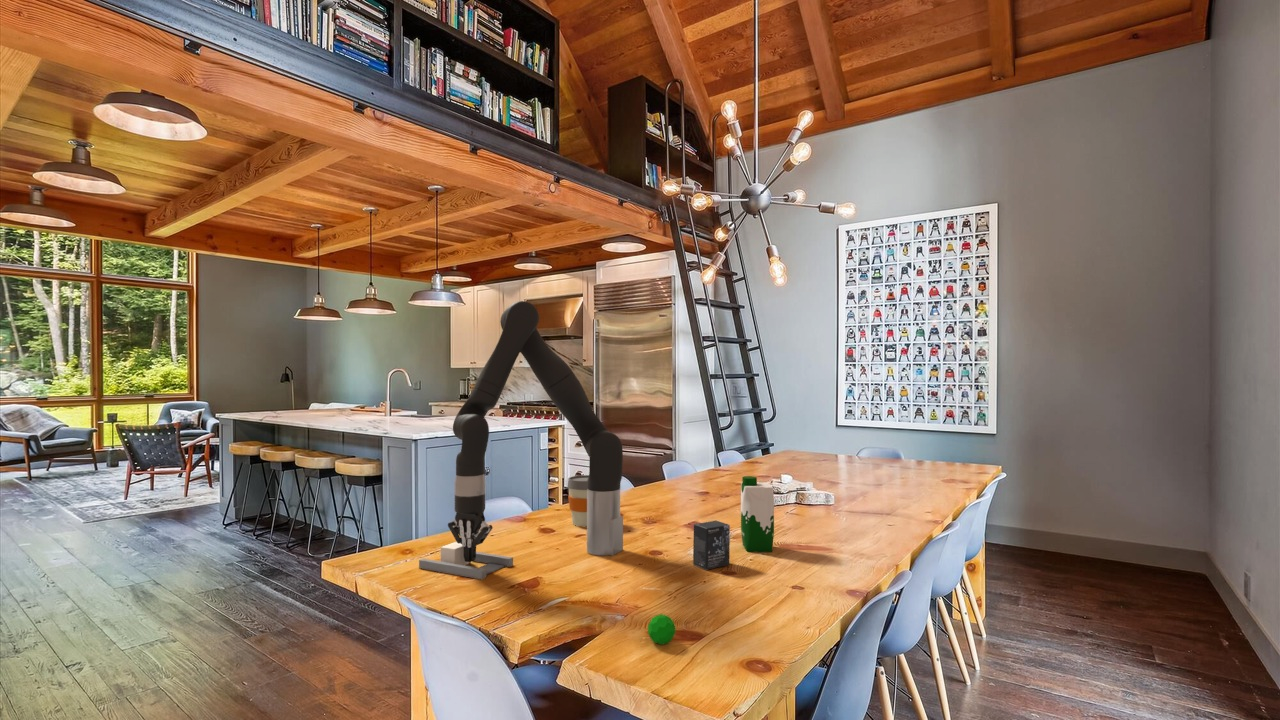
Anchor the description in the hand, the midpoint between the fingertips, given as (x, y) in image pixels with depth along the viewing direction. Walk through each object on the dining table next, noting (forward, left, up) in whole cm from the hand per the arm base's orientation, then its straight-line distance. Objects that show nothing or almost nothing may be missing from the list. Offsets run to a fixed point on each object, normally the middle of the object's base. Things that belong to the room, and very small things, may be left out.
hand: (469, 561), depth 152 cm
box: (-55, -28, -2) cm, 62 cm away
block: (+5, 0, -2) cm, 5 cm away
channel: (+1, 0, -2) cm, 2 cm away
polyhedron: (-61, +19, -2) cm, 64 cm away
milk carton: (-62, -48, -2) cm, 78 cm away
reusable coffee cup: (-4, -52, -2) cm, 52 cm away
